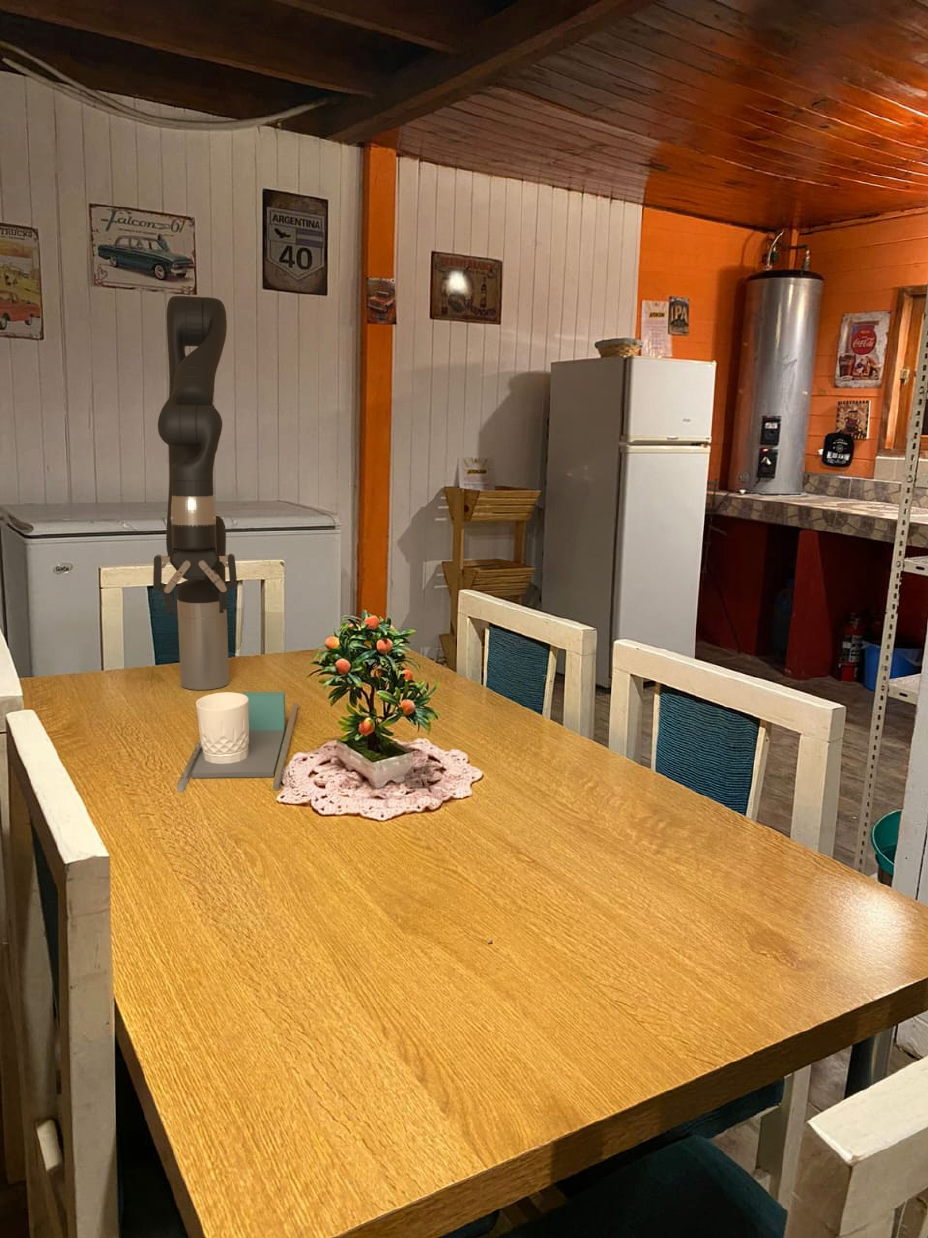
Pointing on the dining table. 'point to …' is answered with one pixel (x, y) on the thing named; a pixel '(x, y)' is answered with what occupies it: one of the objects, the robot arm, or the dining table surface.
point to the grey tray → (254, 740)
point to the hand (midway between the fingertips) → (196, 613)
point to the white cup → (224, 727)
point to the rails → (280, 766)
